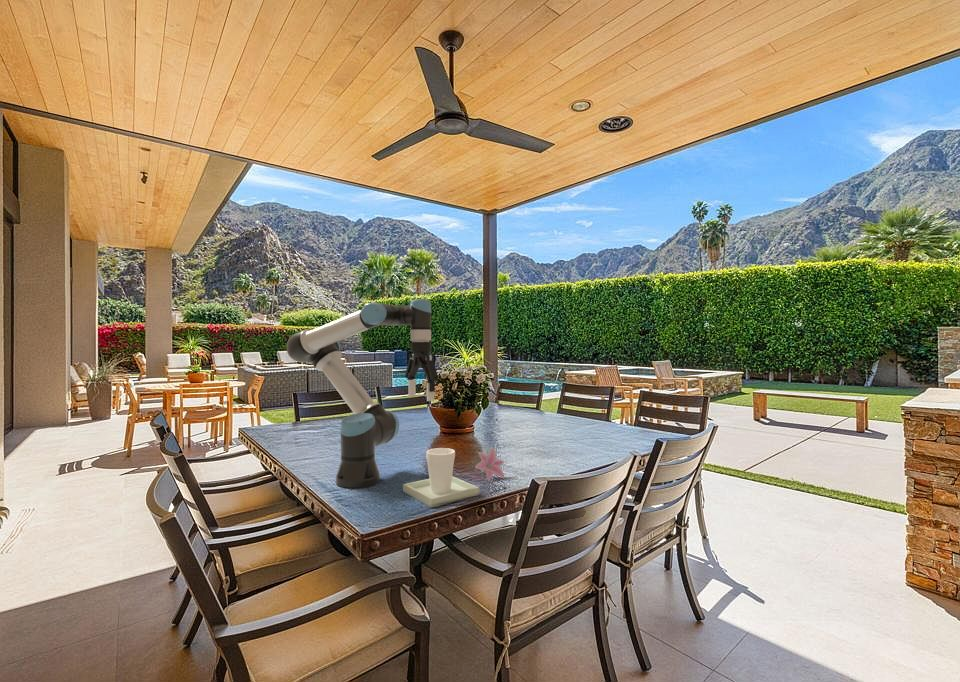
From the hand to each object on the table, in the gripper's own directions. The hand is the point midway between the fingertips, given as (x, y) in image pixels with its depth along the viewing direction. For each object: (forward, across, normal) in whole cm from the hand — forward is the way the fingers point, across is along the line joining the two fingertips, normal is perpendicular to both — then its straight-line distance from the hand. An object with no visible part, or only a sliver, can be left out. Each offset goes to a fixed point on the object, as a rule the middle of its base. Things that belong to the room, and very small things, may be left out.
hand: (421, 398), depth 170 cm
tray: (+29, -20, +4) cm, 35 cm away
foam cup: (+28, -20, +4) cm, 35 cm away
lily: (+29, -16, -20) cm, 39 cm away
